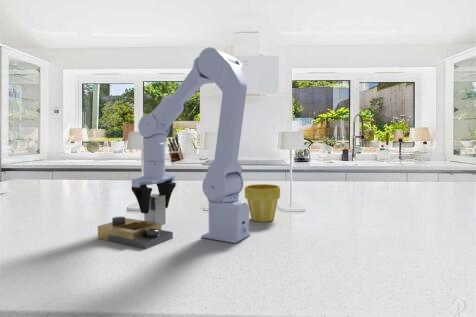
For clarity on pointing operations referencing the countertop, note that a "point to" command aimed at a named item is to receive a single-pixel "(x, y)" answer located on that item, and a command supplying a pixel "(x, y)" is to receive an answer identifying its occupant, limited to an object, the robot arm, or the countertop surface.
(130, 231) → the brass plate with knob
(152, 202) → the grey metal block
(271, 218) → the plant pot
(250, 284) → the countertop surface
